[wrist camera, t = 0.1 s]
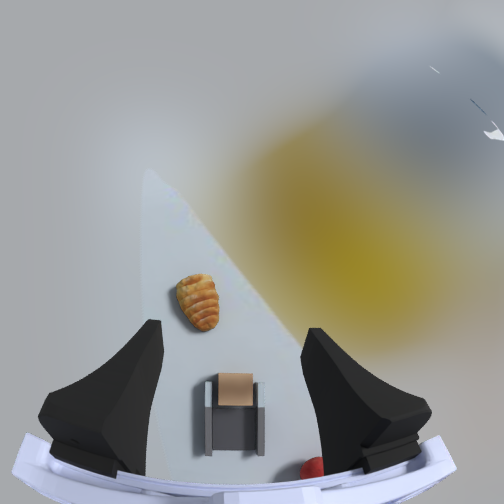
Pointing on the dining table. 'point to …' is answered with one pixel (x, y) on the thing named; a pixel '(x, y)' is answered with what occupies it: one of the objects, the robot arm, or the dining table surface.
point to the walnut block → (235, 389)
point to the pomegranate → (312, 468)
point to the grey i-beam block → (235, 424)
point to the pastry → (199, 301)
